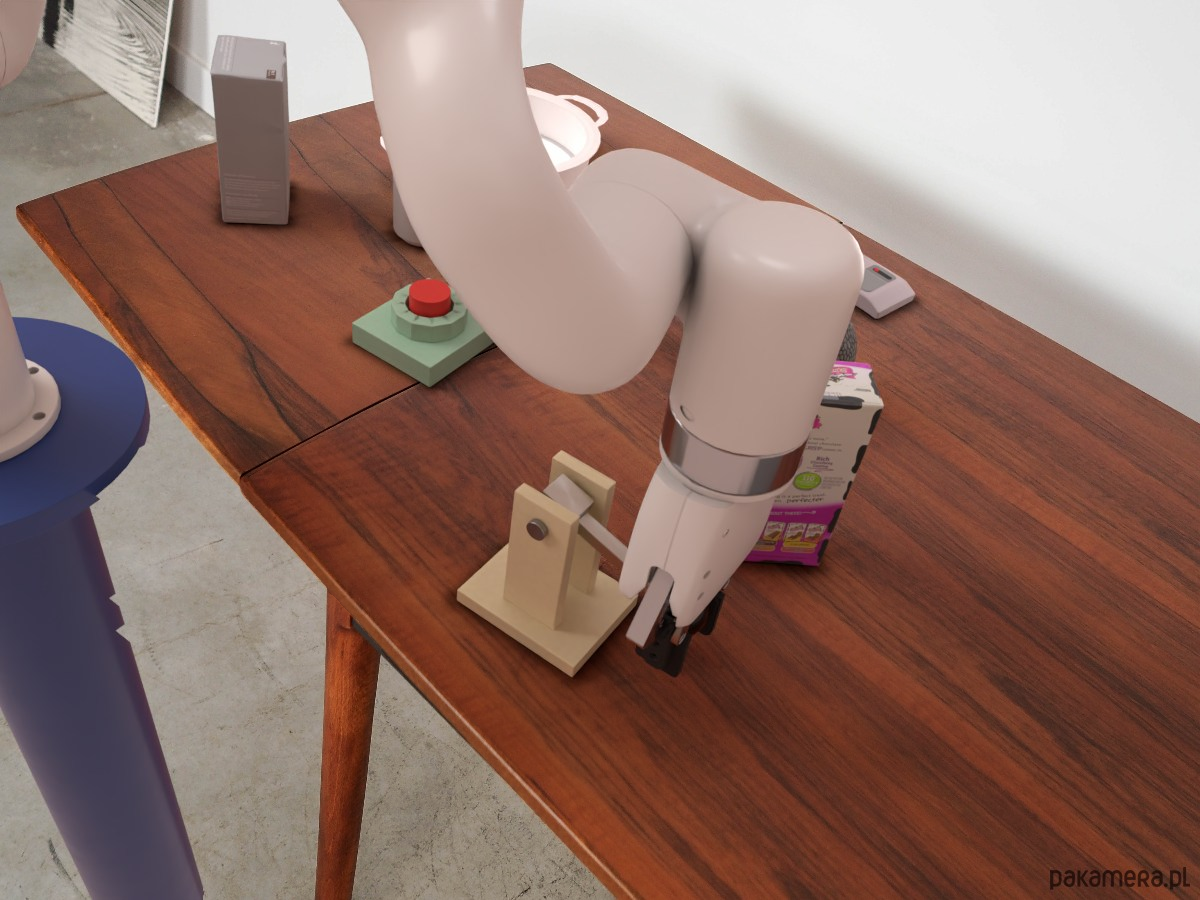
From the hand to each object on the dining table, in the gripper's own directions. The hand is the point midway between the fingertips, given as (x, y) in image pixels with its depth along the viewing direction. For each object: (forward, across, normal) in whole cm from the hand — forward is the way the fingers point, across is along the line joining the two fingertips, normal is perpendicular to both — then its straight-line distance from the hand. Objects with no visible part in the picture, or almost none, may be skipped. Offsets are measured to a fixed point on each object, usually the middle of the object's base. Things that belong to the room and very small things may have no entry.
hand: (674, 640), depth 66 cm
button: (0, -17, -36) cm, 40 cm away
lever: (-3, 0, -5) cm, 6 cm away
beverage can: (+4, -30, -48) cm, 57 cm away
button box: (+4, -17, -36) cm, 40 cm away
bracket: (+4, 0, -10) cm, 11 cm away
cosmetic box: (+4, -22, -63) cm, 67 cm away
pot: (+4, -47, -52) cm, 70 cm away
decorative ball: (+4, -34, -8) cm, 35 cm away
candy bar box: (+4, -15, -2) cm, 16 cm away
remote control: (+4, -56, -11) cm, 57 cm away
